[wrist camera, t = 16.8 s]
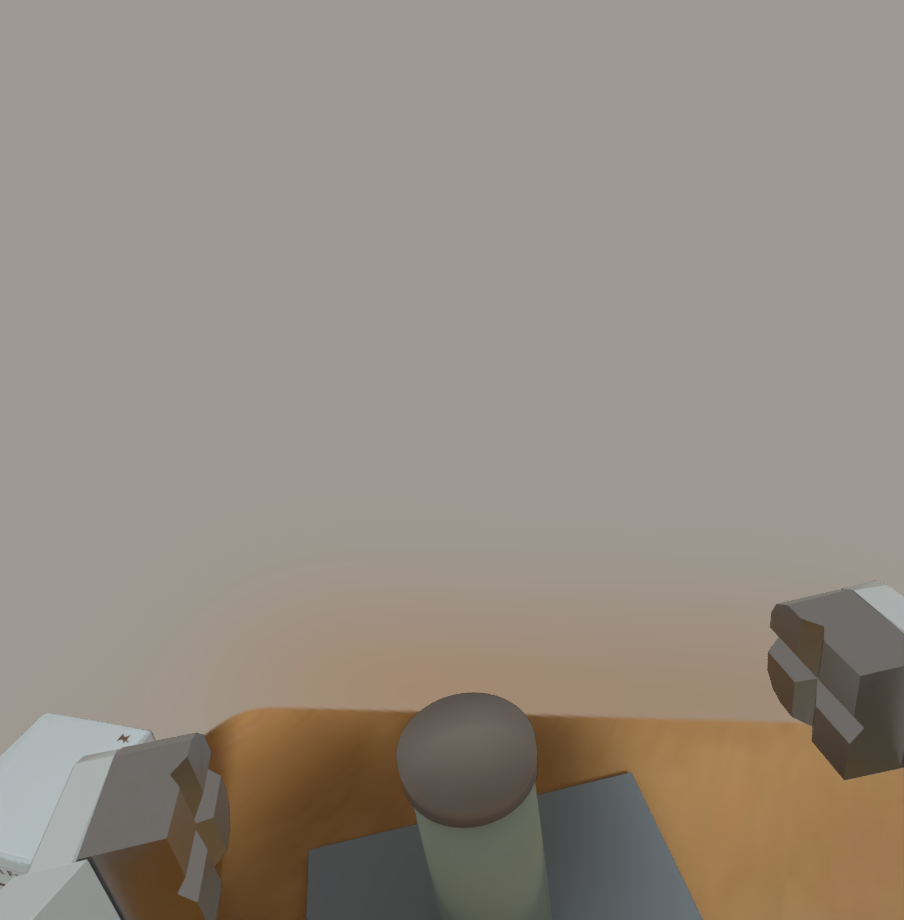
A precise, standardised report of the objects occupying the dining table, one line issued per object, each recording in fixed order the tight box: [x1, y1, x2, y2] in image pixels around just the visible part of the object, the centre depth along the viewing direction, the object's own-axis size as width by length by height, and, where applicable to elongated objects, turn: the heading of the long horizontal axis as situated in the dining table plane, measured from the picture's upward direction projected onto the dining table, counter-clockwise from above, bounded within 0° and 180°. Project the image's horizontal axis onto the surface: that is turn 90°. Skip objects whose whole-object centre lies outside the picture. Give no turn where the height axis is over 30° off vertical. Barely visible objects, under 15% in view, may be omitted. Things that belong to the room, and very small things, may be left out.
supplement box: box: [0, 713, 156, 890], centre depth 35 cm, size 7×7×13 cm
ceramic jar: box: [397, 693, 553, 920], centre depth 32 cm, size 6×6×13 cm
